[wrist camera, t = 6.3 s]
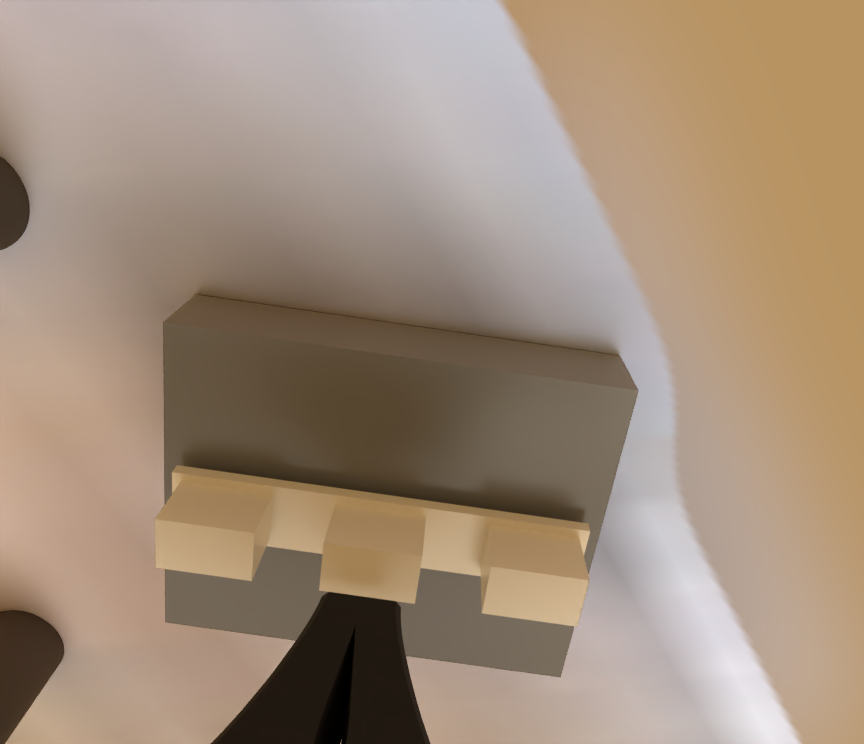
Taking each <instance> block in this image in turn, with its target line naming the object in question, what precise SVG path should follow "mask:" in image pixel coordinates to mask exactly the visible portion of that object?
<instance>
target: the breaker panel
mask: <svg viewBox="0 0 864 744" xmlns="http://www.w3.org/2000/svg"><path fill="white" fill-rule="evenodd" d="M163 352H164V488H165V504H166V502H167V501H168V500H169V498H170V497H171V495H172V471H173V470H174V469H175V467H176V466H177V465H180V466H187V467H194V468H201V469H208V470H215V471H222V472H229V473H236V474H243V475H250V476H257V477H264V478H271V479H278V480H286V481H293V482H300V483H307V484H314V485H321V486H328V487H335V488H342V489H349V490H356V491H363V492H370V493H377V494H384V495H391V496H398V497H405V498H412V499H419V500H427V501H434V502H441V503H448V504H455V505H462V506H469V507H476V508H483V509H490V510H497V511H504V512H511V513H518V514H525V515H532V516H539V517H546V518H553V519H561V520H568V521H575V522H582V523H588V524H589V528H590V535H589V538H588V542H587V546H586V550H585V553H584V559H585V563H586V568H587V572H588V574H589V570H590V567H591V563H592V559H593V556H594V552H595V548H596V545H597V541H598V537H599V534H600V530H601V526H602V523H603V519H604V515H605V512H606V508H607V504H608V501H609V497H610V493H611V490H612V486H613V482H614V479H615V475H616V471H617V467H618V464H619V460H620V456H621V453H622V449H623V445H624V442H625V438H626V434H627V431H628V427H629V423H630V420H631V416H632V412H633V409H634V405H635V401H636V398H637V394H638V389H637V387H636V385H635V383H634V381H633V380H632V378H631V376H630V374H629V372H628V370H627V368H626V366H625V364H624V362H623V361H622V359H621V357H620V356H618V355H611V354H604V353H597V352H590V351H583V350H576V349H569V348H563V347H556V346H549V345H542V344H535V343H528V342H521V341H514V340H507V339H500V338H493V337H486V336H480V335H473V334H466V333H459V332H452V331H445V330H438V329H431V328H424V327H417V326H410V325H404V324H397V323H390V322H383V321H376V320H369V319H362V318H355V317H348V316H341V315H334V314H327V313H321V312H314V311H307V310H300V309H293V308H286V307H279V306H272V305H265V304H258V303H251V302H244V301H238V300H231V299H224V298H217V297H210V296H203V295H195V296H194V297H193V298H192V299H190V300H189V301H188V302H187V303H186V304H184V305H183V306H182V307H181V308H180V309H178V310H177V311H176V312H175V313H174V314H172V315H171V316H170V317H169V318H168V319H167V320H165V321H164V322H163ZM321 565H322V554H318V553H311V552H304V551H297V550H290V549H283V548H276V547H268V546H266V549H265V551H264V553H263V556H262V558H261V560H260V563H259V565H258V568H257V570H256V572H255V575H254V577H253V580H252V581H247V580H240V579H233V578H226V577H219V576H212V575H204V574H197V573H190V572H183V571H176V570H169V569H165V622H167V623H174V624H181V625H188V626H196V627H203V628H210V629H217V630H224V631H231V632H239V633H246V634H253V635H260V636H267V637H274V638H282V639H289V640H297V638H298V637H299V635H300V634H301V632H302V631H303V629H304V628H305V626H306V625H307V623H308V621H309V620H310V618H311V616H312V615H313V613H314V611H315V609H316V607H317V606H318V604H319V601H320V599H321V597H322V596H323V595H324V594H326V593H328V592H326V591H319V586H320V575H321ZM396 602H397V601H396ZM397 603H398V604H399V605H400V607H401V628H402V637H403V644H404V649H405V655H406V656H411V657H418V658H425V659H432V660H440V661H447V662H454V663H461V664H468V665H476V666H483V667H490V668H497V669H504V670H511V671H519V672H526V673H533V674H540V675H547V676H554V677H561V673H562V670H563V666H564V662H565V659H566V655H567V651H568V648H569V644H570V640H571V637H572V633H573V629H574V626H568V625H561V624H554V623H547V622H540V621H533V620H525V619H518V618H511V617H504V616H497V615H490V614H483V613H482V609H481V576H474V575H467V574H460V573H453V572H446V571H439V570H432V569H425V568H420V575H419V581H418V587H417V593H416V599H415V604H411V603H404V602H397Z"/></svg>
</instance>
